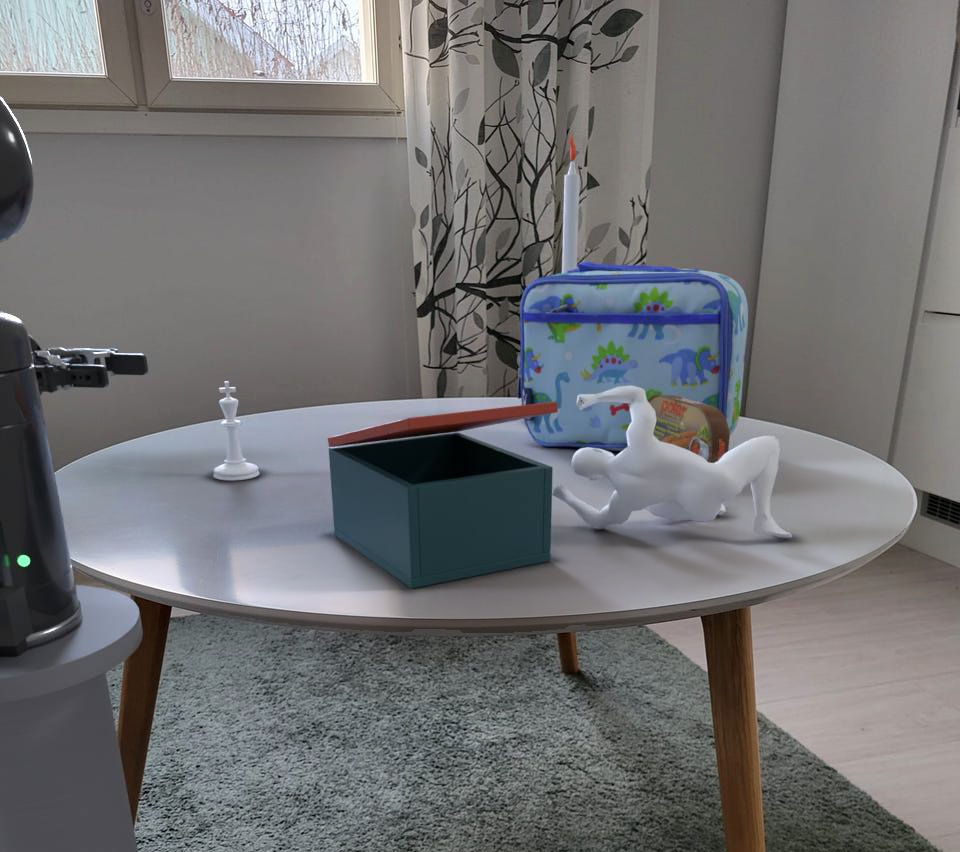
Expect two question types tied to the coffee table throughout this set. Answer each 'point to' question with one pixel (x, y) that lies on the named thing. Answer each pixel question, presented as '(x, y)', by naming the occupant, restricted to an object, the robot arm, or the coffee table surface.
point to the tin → (691, 426)
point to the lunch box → (627, 346)
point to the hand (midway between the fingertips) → (126, 370)
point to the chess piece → (233, 443)
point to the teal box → (441, 507)
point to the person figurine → (671, 473)
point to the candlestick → (570, 214)
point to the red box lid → (442, 423)
